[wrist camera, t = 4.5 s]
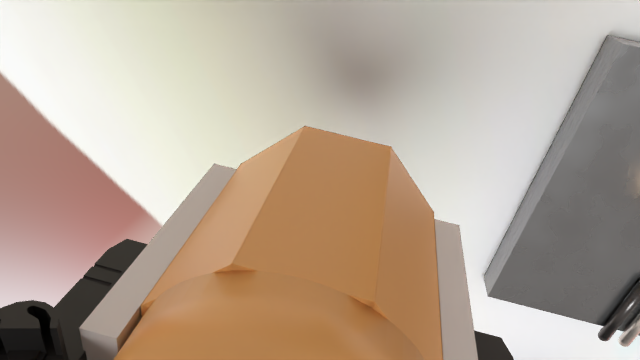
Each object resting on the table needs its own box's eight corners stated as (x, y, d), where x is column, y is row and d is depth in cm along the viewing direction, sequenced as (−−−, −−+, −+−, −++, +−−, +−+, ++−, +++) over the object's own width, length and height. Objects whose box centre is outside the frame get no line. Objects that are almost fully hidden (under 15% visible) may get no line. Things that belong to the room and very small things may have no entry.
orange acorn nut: (242, 107, 13) (-46, 425, 5) (457, 159, 12) (534, 604, 4) (230, 264, 16) (49, 601, 8) (398, 309, 16) (380, 711, 8)
